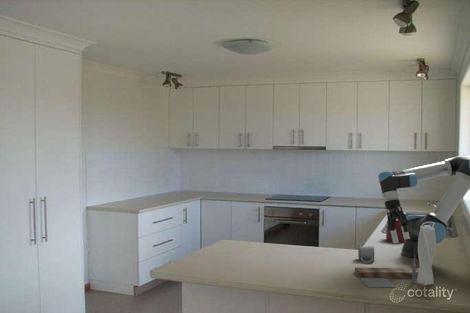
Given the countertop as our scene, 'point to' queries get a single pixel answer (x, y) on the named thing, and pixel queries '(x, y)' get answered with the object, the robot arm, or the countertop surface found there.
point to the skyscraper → (425, 256)
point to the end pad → (377, 282)
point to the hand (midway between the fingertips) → (401, 241)
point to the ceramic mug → (366, 254)
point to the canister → (398, 231)
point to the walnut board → (385, 272)
